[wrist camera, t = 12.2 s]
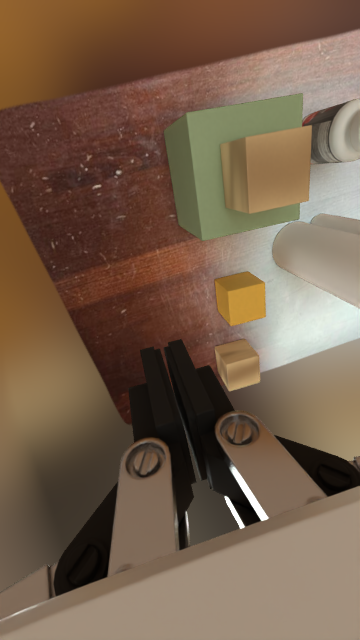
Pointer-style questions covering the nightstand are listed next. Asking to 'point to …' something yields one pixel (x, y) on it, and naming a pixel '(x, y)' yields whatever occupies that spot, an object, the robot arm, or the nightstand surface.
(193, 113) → the stand
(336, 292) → the vase
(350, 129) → the pill bottle
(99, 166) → the nightstand surface
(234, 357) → the far maple block
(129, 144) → the nightstand surface
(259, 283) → the mustard block
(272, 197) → the near maple block
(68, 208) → the nightstand surface
